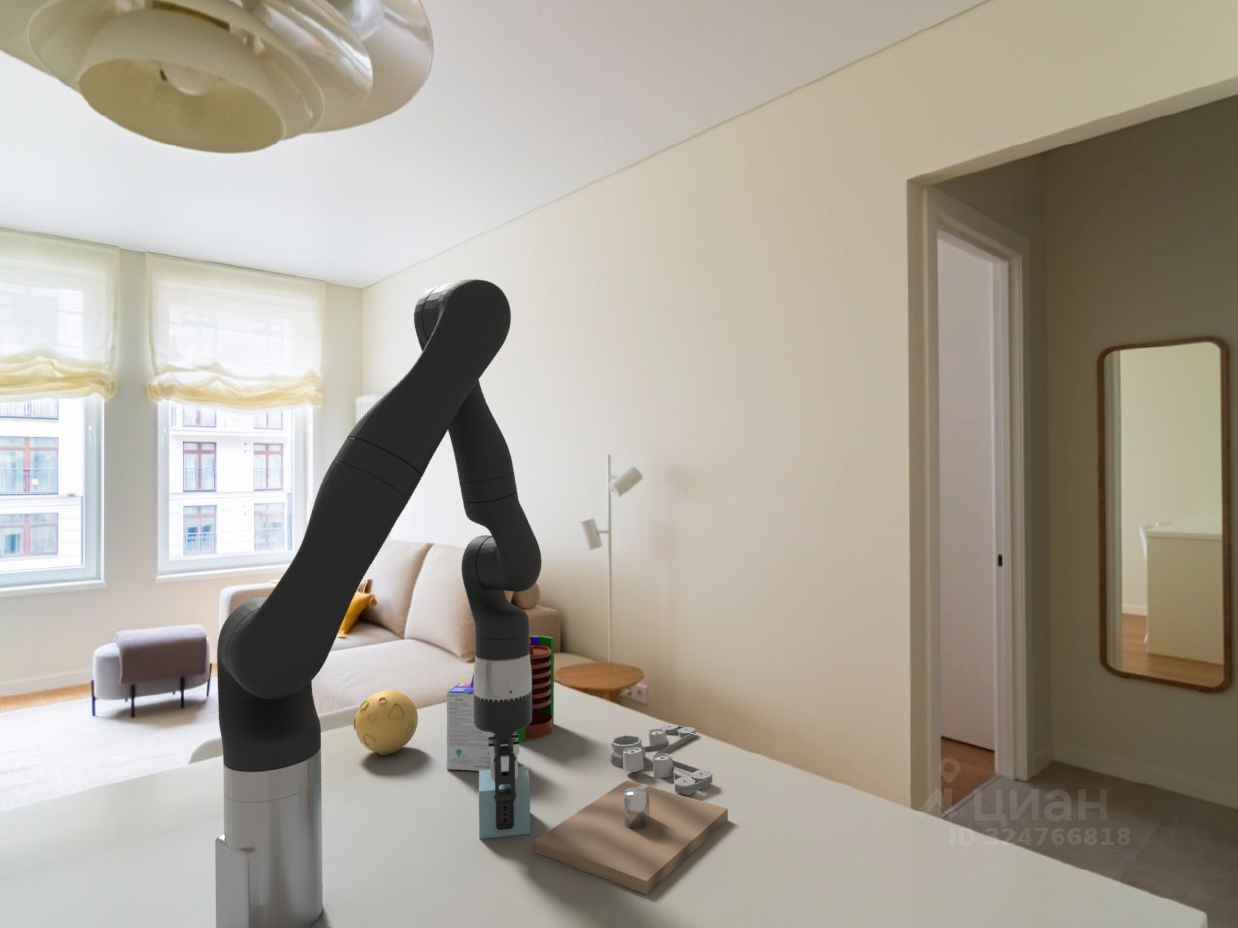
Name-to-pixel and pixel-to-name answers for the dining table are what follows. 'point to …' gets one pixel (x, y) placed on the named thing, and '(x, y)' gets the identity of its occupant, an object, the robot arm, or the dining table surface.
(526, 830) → the mini blue cabinet
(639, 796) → the shaft
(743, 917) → the dining table surface
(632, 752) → the pulley system
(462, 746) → the ink cartridge box
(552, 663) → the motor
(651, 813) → the mounting plate
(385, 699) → the stress ball
